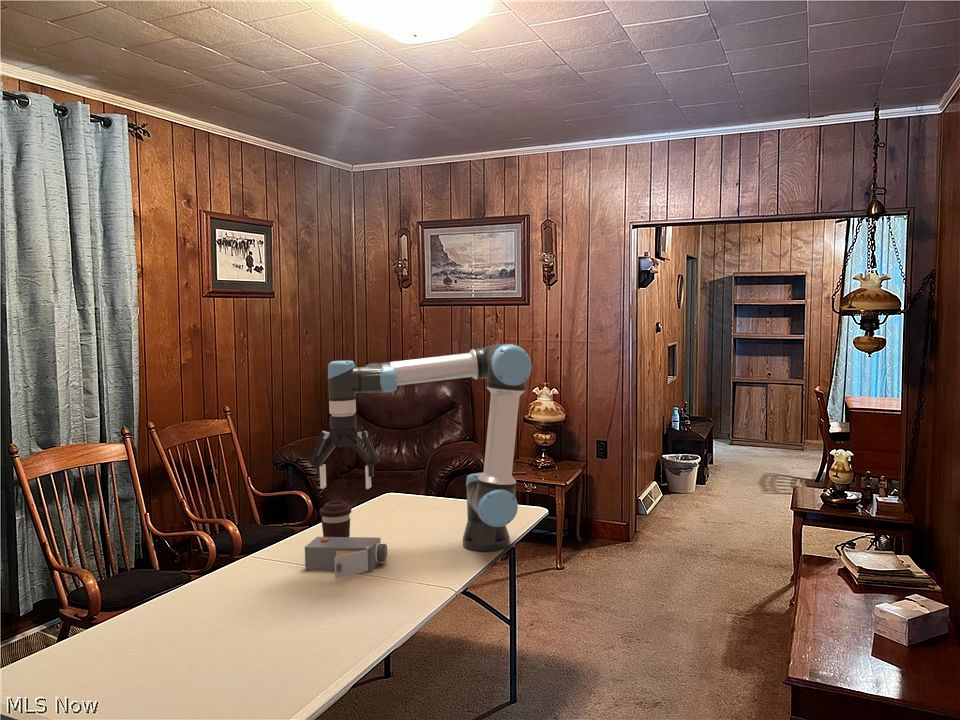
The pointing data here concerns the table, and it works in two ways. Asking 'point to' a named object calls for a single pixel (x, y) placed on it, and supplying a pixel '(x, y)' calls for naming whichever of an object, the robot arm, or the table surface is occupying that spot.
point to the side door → (351, 564)
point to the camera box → (342, 551)
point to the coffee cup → (336, 519)
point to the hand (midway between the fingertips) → (345, 487)
